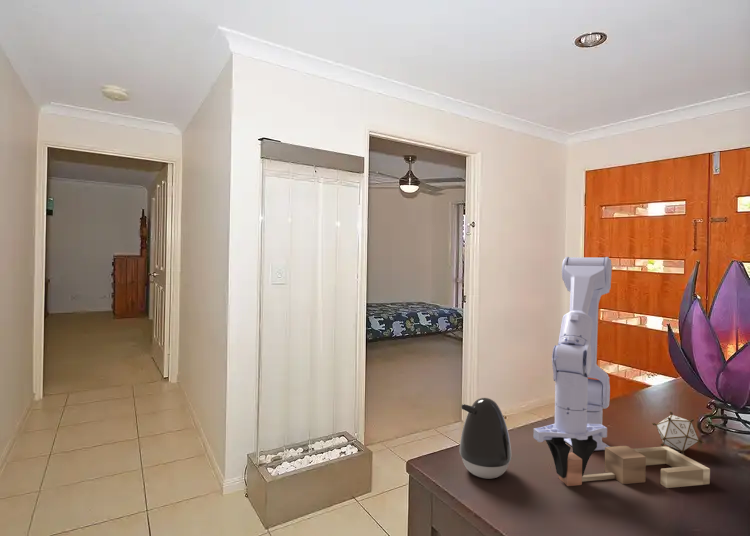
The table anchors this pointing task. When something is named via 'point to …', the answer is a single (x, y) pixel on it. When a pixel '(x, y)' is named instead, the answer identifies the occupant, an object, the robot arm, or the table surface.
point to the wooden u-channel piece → (676, 467)
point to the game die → (677, 432)
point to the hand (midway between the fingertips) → (569, 474)
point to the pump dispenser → (485, 440)
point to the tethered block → (609, 467)
